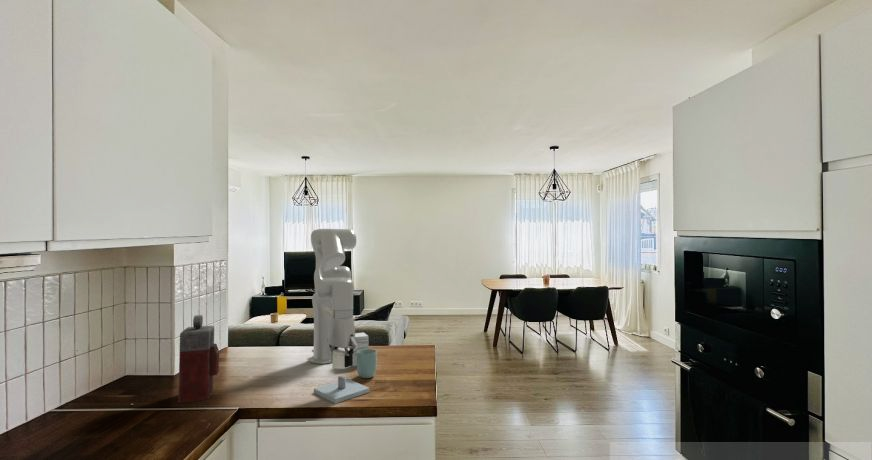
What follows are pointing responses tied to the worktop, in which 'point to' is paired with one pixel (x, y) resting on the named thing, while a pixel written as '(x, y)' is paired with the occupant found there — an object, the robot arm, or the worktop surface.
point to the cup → (366, 363)
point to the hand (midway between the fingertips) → (342, 364)
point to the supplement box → (360, 345)
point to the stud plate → (341, 390)
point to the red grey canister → (197, 361)
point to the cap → (339, 358)
